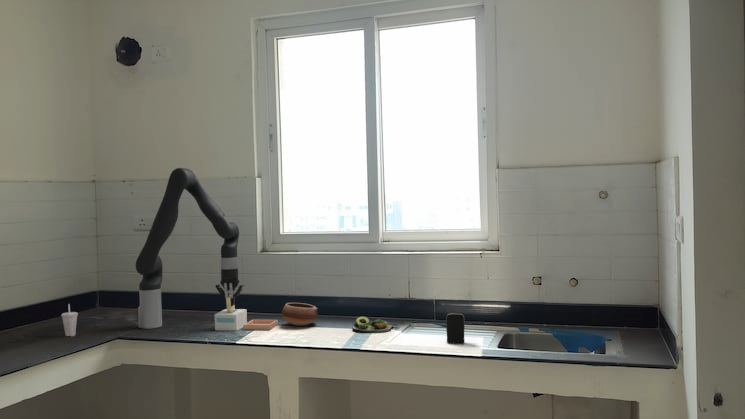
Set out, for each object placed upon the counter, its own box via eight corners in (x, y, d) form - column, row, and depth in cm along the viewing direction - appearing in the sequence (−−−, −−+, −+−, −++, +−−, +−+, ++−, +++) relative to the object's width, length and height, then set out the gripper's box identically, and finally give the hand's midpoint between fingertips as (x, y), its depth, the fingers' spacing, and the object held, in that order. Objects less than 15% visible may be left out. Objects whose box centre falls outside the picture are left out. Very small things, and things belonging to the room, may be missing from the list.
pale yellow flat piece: (227, 317, 268) (226, 298, 267) (232, 314, 273) (230, 295, 272) (230, 318, 268) (229, 298, 266) (235, 314, 273) (233, 295, 271)
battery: (465, 341, 234) (464, 312, 234) (464, 344, 230) (464, 314, 230) (447, 341, 236) (446, 312, 235) (446, 343, 232) (445, 314, 232)
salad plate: (399, 324, 269) (398, 314, 269) (396, 334, 251) (396, 323, 251) (355, 324, 271) (355, 314, 271) (350, 334, 253) (350, 323, 253)
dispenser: (214, 330, 264) (214, 313, 264) (226, 324, 276) (225, 308, 276) (236, 330, 263) (236, 313, 262) (246, 324, 275) (246, 308, 274)
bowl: (321, 327, 266) (321, 304, 266) (287, 330, 260) (286, 307, 260) (312, 320, 281) (311, 298, 280) (278, 323, 275) (278, 301, 275)
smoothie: (60, 338, 257) (59, 305, 256) (64, 334, 263) (62, 302, 263) (77, 336, 259) (75, 304, 258) (80, 333, 265) (78, 301, 264)
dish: (243, 329, 264) (243, 324, 264) (252, 324, 275) (252, 319, 275) (269, 330, 262) (269, 325, 262) (277, 324, 273) (277, 319, 273)
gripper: (211, 268, 266) (212, 307, 267) (240, 268, 264) (241, 308, 264) (218, 266, 274) (219, 304, 274) (247, 266, 271) (247, 304, 272)
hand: (230, 306), depth 269 cm, fingers closed on pale yellow flat piece, 1 cm apart
